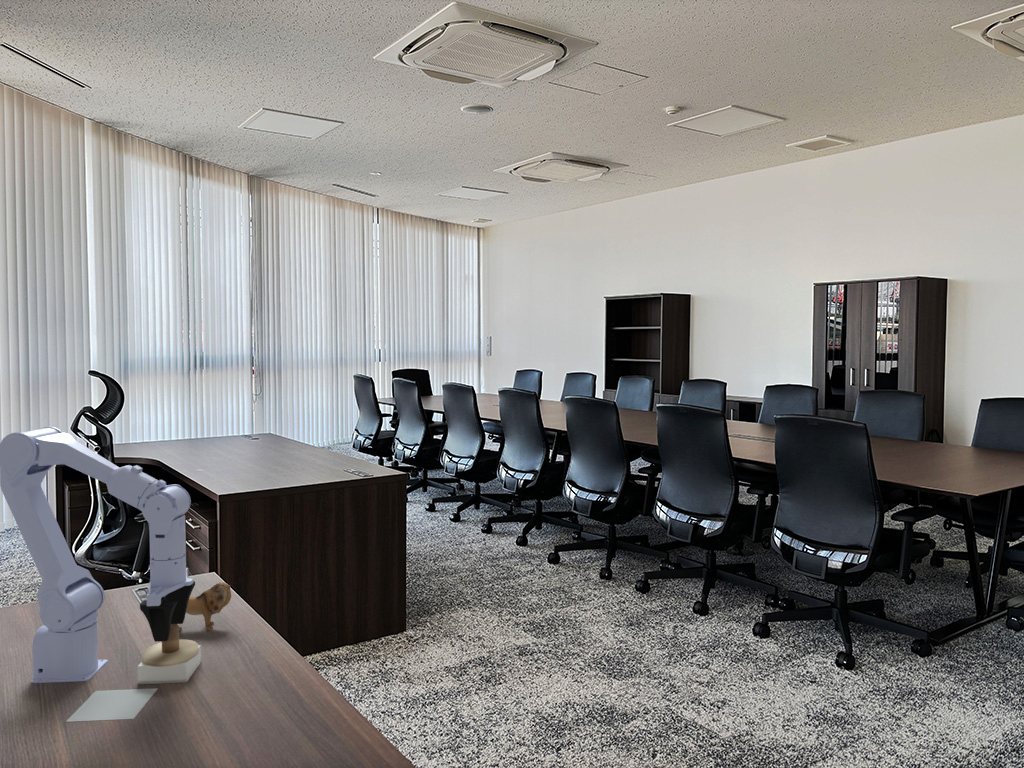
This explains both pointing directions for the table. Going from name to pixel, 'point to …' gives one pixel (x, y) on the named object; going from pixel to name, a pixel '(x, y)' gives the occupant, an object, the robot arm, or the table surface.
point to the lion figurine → (209, 603)
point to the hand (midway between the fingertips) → (169, 631)
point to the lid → (170, 650)
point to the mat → (112, 705)
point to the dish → (168, 671)
